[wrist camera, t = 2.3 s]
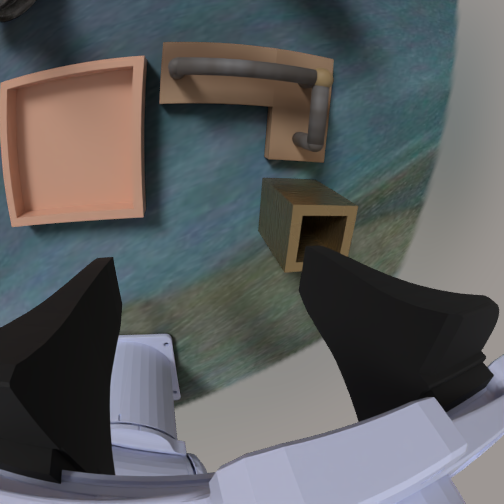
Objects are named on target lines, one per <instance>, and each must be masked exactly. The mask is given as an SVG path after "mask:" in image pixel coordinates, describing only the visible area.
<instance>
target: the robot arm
mask: <svg viewBox="0 0 504 504" xmlns="http://www.w3.org/2000/svg"><path fill="white" fill-rule="evenodd" d="M299 292H300V295H301V298H302V300H303V303H304V305H305V307H306V310H307V312H308V314H309V315H310V317H311V319H312V320H313V322H314V324H315V326H316V327H317V329H318V331H319V332H320V334H321V336H322V337H323V339H324V341H325V342H326V344H327V346H328V347H329V349H330V351H331V352H332V354H333V356H334V358H335V360H336V362H337V365H338V367H339V369H340V371H341V374H342V376H343V378H344V381H345V384H346V386H347V389H348V391H349V394H350V397H351V400H352V402H353V406H354V408H355V412H356V414H357V418H358V421H359V422H357V423H355V424H352V425H348V426H345V427H342V428H339V429H336V430H332V431H329V432H326V433H322V434H319V435H315V436H311V437H307V438H303V439H299V440H295V441H291V442H286V443H282V444H278V445H275V446H272V447H269V448H265V449H261V450H258V451H254V452H251V453H247V454H244V455H243V456H241V457H238V458H237V459H234V460H232V461H230V462H228V463H226V464H224V465H222V466H221V467H220V468H219V469H218V470H217V471H216V472H213V473H207V471H206V469H205V467H204V465H203V464H202V463H201V462H200V460H199V459H198V458H197V457H196V456H195V455H194V454H191V453H186V446H185V442H184V441H180V440H177V433H176V423H175V412H174V400H178V399H180V398H181V395H180V389H179V383H178V378H177V371H176V365H175V359H174V352H173V345H172V338H171V336H170V335H169V334H147V335H119V332H120V326H121V313H122V301H121V296H120V291H119V287H118V282H117V276H116V271H115V266H114V260H113V257H107V258H97V259H95V260H94V261H92V262H91V263H90V264H89V265H87V266H86V267H85V268H84V269H83V270H82V271H80V272H79V273H78V274H77V275H76V276H75V277H73V278H72V279H71V280H70V281H69V282H68V283H66V284H65V285H64V286H63V287H61V288H60V289H59V290H58V291H57V292H55V293H54V294H53V295H52V296H50V297H49V298H48V299H46V300H45V301H44V302H42V303H41V304H39V305H38V306H36V307H35V308H33V309H32V310H31V311H29V312H27V313H26V314H24V315H22V316H21V317H19V318H17V319H15V320H13V321H12V322H10V323H8V324H7V325H5V326H3V327H0V504H466V503H465V501H464V500H463V498H462V496H461V495H460V493H459V491H458V490H457V488H456V486H455V485H454V483H453V482H452V480H451V478H452V477H453V476H455V475H456V474H457V473H459V472H460V471H461V470H463V469H464V468H465V467H467V466H468V465H469V464H470V463H471V462H473V461H474V460H475V459H477V458H478V457H479V456H480V455H482V454H483V453H484V452H485V451H486V450H487V449H489V448H490V447H491V446H492V445H493V444H494V443H495V442H496V441H498V440H499V439H500V438H501V437H502V436H503V435H504V354H503V355H502V356H500V357H499V358H497V359H496V360H495V361H493V362H492V363H491V364H490V365H489V366H488V367H486V366H485V364H484V363H483V361H484V360H485V359H486V356H485V355H484V354H483V352H482V351H481V350H482V349H483V347H484V345H485V344H486V342H487V340H488V338H489V336H490V335H491V333H492V331H493V329H494V327H495V325H496V323H497V320H498V316H499V307H498V305H497V304H496V303H495V302H494V301H492V300H491V299H490V298H489V297H486V296H483V295H470V294H460V293H453V292H447V291H441V290H436V289H432V288H428V287H424V286H420V285H416V284H413V283H409V282H407V281H404V280H401V279H398V278H395V277H392V276H390V275H387V274H384V273H382V272H380V271H377V270H375V269H373V268H370V267H368V266H366V265H364V264H362V263H360V262H357V261H355V260H353V259H351V258H349V257H347V256H345V255H343V254H341V253H338V252H336V251H334V250H332V249H329V248H327V247H324V246H320V245H318V246H306V247H305V254H304V260H303V267H302V273H301V280H300V286H299ZM165 343H168V344H165Z"/></svg>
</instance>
